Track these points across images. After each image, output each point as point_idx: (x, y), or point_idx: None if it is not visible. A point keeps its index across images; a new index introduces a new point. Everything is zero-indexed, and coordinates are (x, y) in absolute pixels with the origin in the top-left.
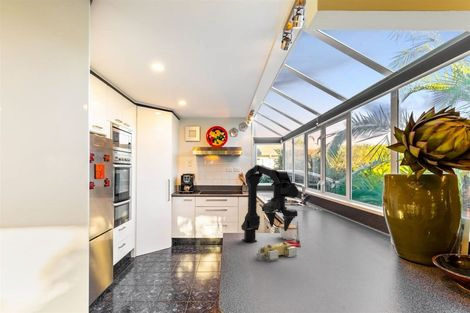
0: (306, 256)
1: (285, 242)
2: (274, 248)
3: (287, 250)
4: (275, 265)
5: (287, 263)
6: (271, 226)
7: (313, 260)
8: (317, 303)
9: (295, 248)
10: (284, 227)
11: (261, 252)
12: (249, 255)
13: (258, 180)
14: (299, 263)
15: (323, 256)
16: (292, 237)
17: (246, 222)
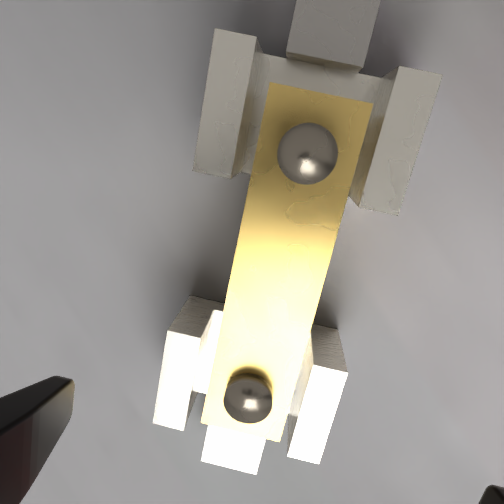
0: (121, 418)
1: (244, 408)
2: (251, 181)
3: (196, 324)
4: (143, 15)
5: (112, 156)
6: (493, 498)
7: (41, 375)
8: None
9: (158, 404)
10: (8, 414)
11: (362, 60)
12: (500, 31)
13: None
14: (58, 236)
15: (52, 497)
16: None
17: None
